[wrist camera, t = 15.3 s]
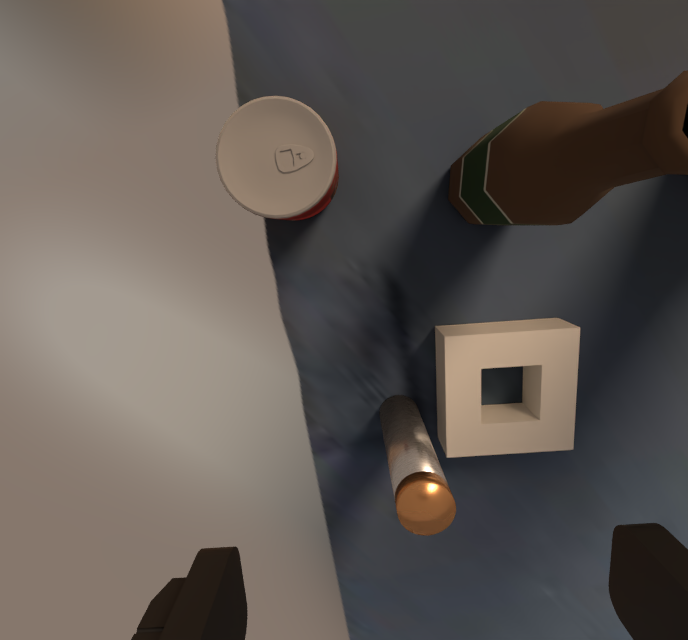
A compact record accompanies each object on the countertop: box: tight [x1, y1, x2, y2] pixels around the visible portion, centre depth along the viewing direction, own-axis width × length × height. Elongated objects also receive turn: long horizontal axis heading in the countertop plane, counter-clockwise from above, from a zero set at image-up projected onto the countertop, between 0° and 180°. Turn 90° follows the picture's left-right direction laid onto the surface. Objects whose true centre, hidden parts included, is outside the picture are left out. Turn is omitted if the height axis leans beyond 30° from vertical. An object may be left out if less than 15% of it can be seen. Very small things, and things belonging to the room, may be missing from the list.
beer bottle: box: [448, 71, 688, 225], centre depth 26 cm, size 8×8×24 cm
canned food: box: [216, 96, 339, 220], centre depth 32 cm, size 8×8×11 cm
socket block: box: [435, 318, 580, 458], centre depth 40 cm, size 12×12×4 cm
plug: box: [379, 395, 456, 535], centre depth 35 cm, size 4×4×15 cm
